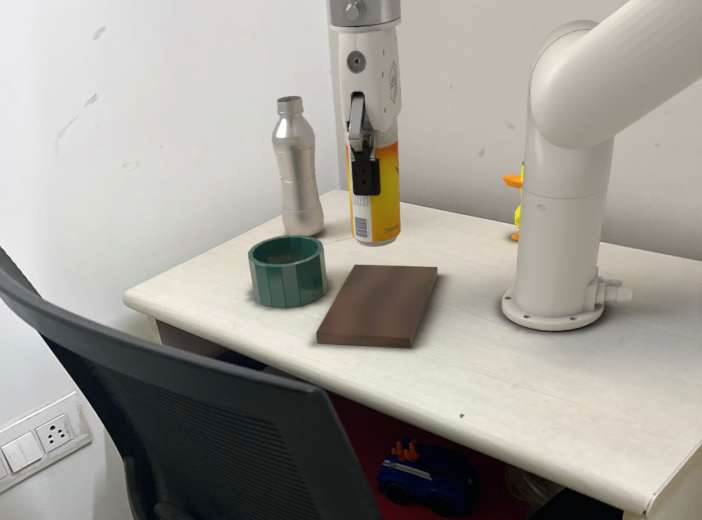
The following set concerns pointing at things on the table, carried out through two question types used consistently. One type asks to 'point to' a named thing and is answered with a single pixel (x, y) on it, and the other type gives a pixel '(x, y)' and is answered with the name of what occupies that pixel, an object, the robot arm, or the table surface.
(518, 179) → the toy figure
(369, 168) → the robot arm
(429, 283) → the board
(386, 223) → the beer can
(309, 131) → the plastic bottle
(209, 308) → the table surface
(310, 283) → the crock
